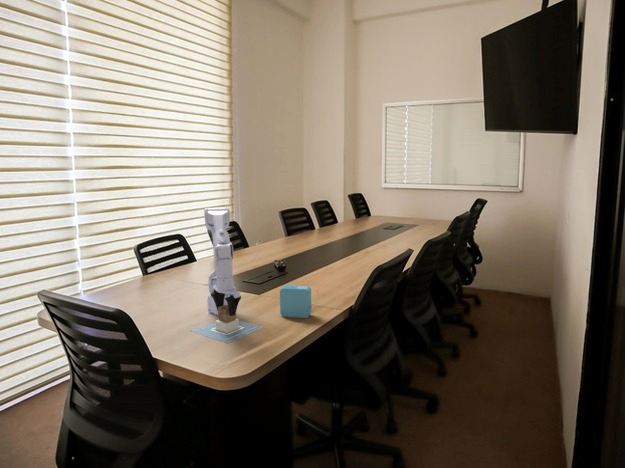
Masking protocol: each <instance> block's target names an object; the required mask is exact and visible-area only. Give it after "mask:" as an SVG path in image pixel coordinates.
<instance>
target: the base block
mask: <svg viewBox="0 0 625 468" xmlns="http://www.w3.org/2000/svg"><path fill="white" fill-rule="evenodd" d="M239 321H240V320H239V318H236V320H234V321H230V322H227V323H225V322H222V321H220V320H219V319H217V320H215V321H214V322H215V329H216V330H217V331H221V332H224V333H229V332H231V331H234V330H236V329H239Z"/></svg>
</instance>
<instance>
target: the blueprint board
mask: <svg viewBox="0 0 625 468" xmlns="http://www.w3.org/2000/svg"><path fill="white" fill-rule="evenodd" d="M263 328H264V326H260V325H256V324H253V323H250V322H245V321H242V320H239V329H236V330H234V331H231V332H229V333H224V332H221V331H217V330H216V329H215V321H212V322H210V323H207V324H205V325H202V326H200V327H197V328H194V329H192V330H190V332H192V333H195V334H199V335H201V336H204V337H207V338H210V339H213V340H217V341H220V342H223V343H226V344H229V343H232V342H234V341H237V340H238V339H241V338H243V337H246V336H248V335H250V334H252V333H255V332H257V331H259V330H262V329H263Z"/></svg>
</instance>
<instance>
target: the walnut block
mask: <svg viewBox="0 0 625 468" xmlns="http://www.w3.org/2000/svg"><path fill="white" fill-rule="evenodd" d="M217 316H218V320H220V321H222V322H225V323H227V322H230V321H234V320H236V319H237V315H233V316H230V314H229V308H228V304H227V305H223V306H220V307H218V315H217Z"/></svg>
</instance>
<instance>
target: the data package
mask: <svg viewBox="0 0 625 468" xmlns="http://www.w3.org/2000/svg"><path fill="white" fill-rule="evenodd" d="M279 309H280V311H279V314H280V316H282V317H283V318H294V319H295V318H297V319H298V318H299V319H307V318H309V317H310V315H311V314H312V288H311V287H310V286H306V285H304V286H303V285H284V286H282V288H281V289H280V290H279Z"/></svg>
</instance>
